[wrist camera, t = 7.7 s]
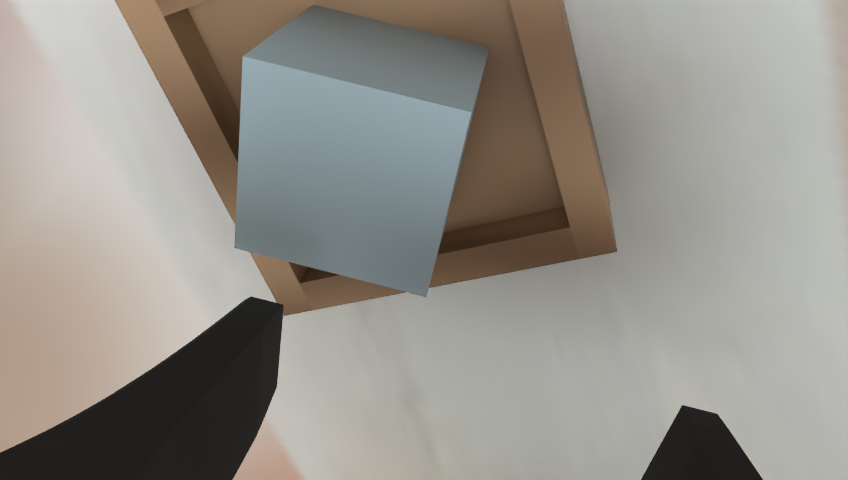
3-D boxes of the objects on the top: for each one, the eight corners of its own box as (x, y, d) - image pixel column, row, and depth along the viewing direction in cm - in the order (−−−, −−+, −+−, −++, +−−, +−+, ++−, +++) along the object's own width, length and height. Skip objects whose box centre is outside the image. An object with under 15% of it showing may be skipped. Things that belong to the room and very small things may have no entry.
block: (450, 203, 19) (426, 296, 15) (297, 164, 19) (234, 247, 15) (489, 47, 16) (471, 112, 13) (313, 4, 17) (242, 56, 13)
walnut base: (608, 195, 20) (616, 251, 17) (315, 259, 23) (284, 315, 20) (522, -174, 16) (516, -175, 13) (172, -35, 19) (108, -12, 16)
